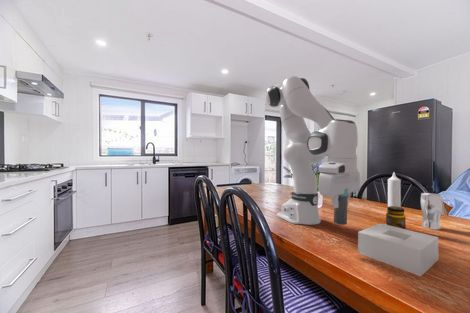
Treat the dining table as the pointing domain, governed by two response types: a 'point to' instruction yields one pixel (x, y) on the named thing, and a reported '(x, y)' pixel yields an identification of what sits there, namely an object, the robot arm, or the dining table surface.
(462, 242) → the dining table surface
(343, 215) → the dark gray rectangular block
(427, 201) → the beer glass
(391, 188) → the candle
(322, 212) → the dining table surface
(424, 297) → the dining table surface
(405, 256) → the socket block
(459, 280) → the dining table surface
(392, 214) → the condiment
